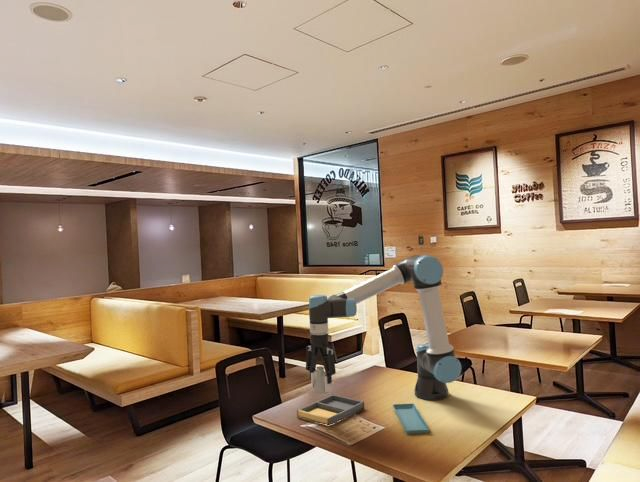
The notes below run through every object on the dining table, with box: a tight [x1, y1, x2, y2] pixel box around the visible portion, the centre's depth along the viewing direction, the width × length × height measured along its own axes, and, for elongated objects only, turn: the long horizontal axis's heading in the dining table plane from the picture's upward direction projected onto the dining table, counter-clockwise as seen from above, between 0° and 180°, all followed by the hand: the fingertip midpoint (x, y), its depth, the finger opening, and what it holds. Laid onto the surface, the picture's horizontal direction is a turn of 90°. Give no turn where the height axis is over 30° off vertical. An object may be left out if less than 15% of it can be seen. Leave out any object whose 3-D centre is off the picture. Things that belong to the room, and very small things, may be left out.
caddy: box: [296, 394, 365, 425], centre depth 190 cm, size 17×23×3 cm
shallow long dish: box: [392, 403, 430, 435], centre depth 179 cm, size 26×9×2 cm, turn 1°
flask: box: [312, 366, 331, 395], centre depth 186 cm, size 7×7×10 cm
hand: (321, 389), depth 186 cm, fingers closed on flask, 7 cm apart
